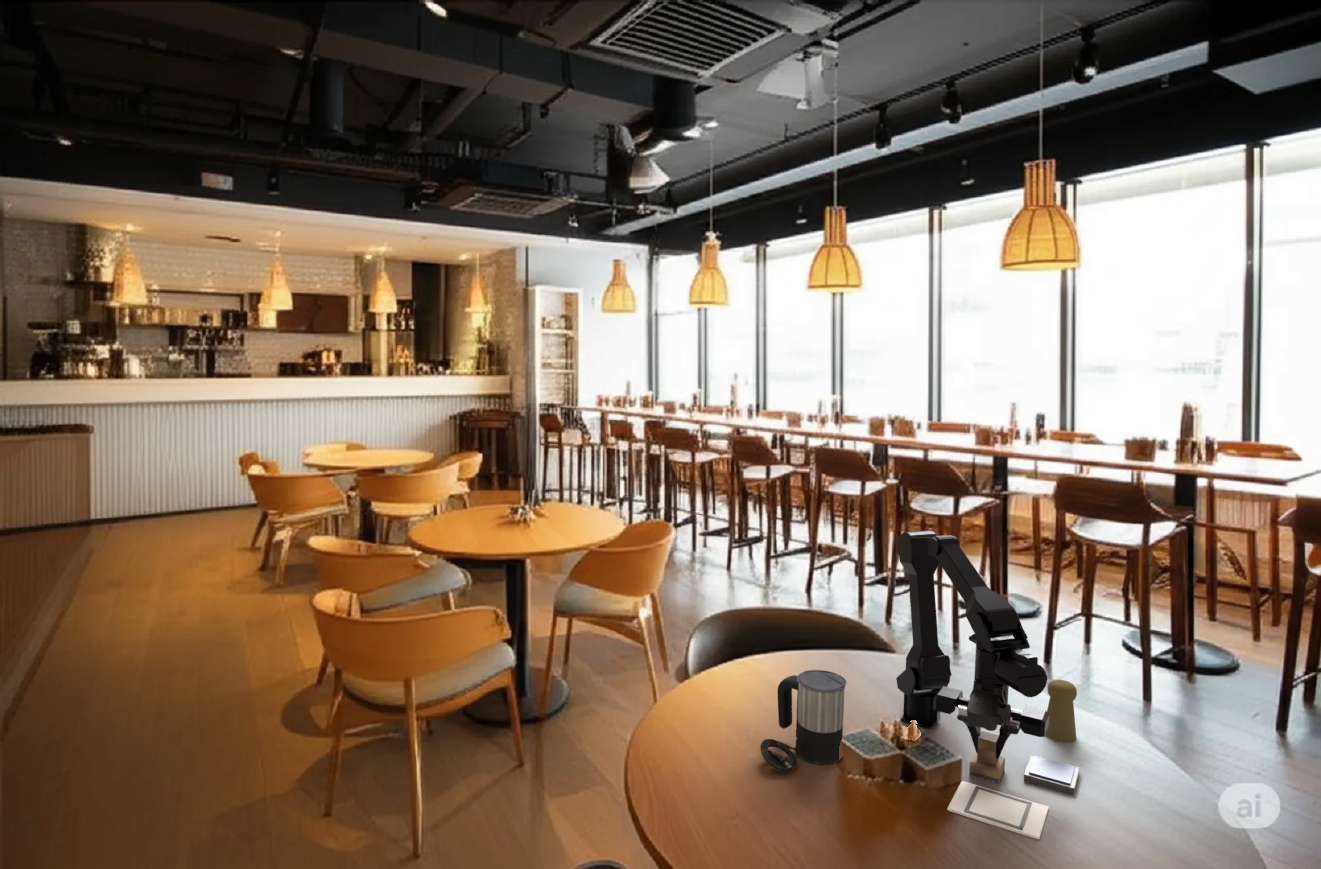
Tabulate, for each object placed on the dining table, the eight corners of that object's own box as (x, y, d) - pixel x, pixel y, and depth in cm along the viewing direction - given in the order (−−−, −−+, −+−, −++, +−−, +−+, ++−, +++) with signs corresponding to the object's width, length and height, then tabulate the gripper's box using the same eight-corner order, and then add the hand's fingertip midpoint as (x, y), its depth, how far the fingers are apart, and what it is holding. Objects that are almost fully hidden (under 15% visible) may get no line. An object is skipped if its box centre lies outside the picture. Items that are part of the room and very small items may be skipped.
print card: (947, 810, 130) (947, 807, 130) (961, 782, 139) (961, 779, 139) (1039, 839, 123) (1039, 836, 123) (1048, 808, 131) (1048, 805, 131)
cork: (1080, 743, 152) (1084, 690, 151) (1047, 740, 153) (1050, 687, 152) (1070, 728, 158) (1074, 677, 157) (1039, 726, 159) (1041, 674, 158)
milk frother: (849, 747, 151) (851, 674, 149) (830, 788, 137) (832, 708, 135) (778, 731, 157) (779, 661, 156) (753, 770, 143) (754, 693, 141)
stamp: (969, 774, 141) (971, 738, 140) (975, 762, 145) (977, 727, 145) (998, 783, 138) (1000, 746, 138) (1004, 770, 143) (1006, 734, 142)
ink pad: (1023, 780, 139) (1024, 772, 139) (1031, 760, 146) (1031, 753, 146) (1073, 794, 135) (1074, 786, 135) (1079, 773, 142) (1079, 766, 141)
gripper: (926, 676, 138) (923, 759, 140) (1041, 702, 128) (1036, 792, 130) (942, 655, 148) (939, 733, 149) (1051, 679, 137) (1047, 762, 139)
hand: (987, 754), depth 142 cm, fingers closed on stamp, 3 cm apart
